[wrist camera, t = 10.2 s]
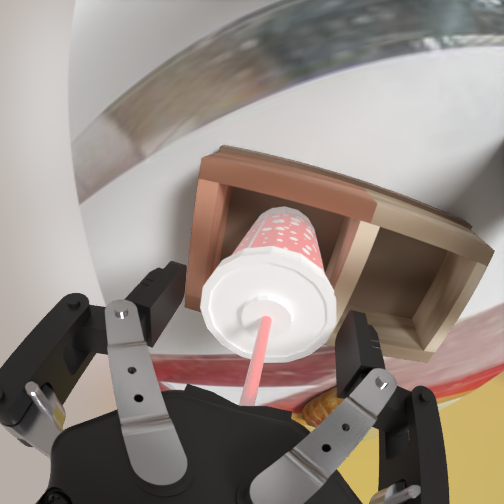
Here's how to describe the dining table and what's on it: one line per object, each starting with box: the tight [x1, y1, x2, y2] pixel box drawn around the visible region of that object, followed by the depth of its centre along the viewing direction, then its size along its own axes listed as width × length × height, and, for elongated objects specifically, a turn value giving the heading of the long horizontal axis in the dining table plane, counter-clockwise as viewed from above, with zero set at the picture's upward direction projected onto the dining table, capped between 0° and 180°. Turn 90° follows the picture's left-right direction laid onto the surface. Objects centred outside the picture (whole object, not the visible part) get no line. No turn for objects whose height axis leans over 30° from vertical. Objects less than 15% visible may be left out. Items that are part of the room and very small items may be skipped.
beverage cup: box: [200, 207, 336, 406], centre depth 14 cm, size 6×6×14 cm
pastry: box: [302, 387, 345, 427], centre depth 27 cm, size 9×7×4 cm
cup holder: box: [185, 145, 494, 363], centre depth 18 cm, size 11×20×5 cm, turn 78°
